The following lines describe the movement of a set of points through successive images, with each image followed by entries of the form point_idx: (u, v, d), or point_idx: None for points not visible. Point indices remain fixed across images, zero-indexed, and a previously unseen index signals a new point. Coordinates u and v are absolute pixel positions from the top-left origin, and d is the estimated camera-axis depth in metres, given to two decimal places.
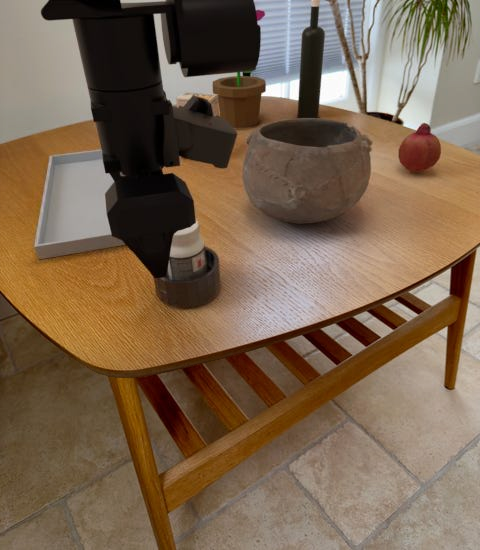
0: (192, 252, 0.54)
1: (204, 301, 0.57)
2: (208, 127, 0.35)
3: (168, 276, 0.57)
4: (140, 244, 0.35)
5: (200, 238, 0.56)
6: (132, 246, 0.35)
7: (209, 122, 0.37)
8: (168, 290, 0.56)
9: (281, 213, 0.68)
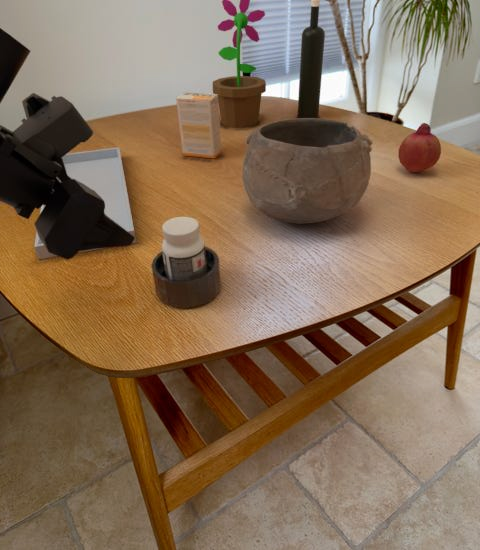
0: (192, 252, 0.54)
1: (204, 301, 0.57)
2: (49, 123, 0.38)
3: (168, 276, 0.57)
4: (94, 240, 0.42)
5: (200, 238, 0.56)
6: (90, 246, 0.42)
7: (48, 115, 0.40)
8: (168, 290, 0.56)
9: (281, 213, 0.68)
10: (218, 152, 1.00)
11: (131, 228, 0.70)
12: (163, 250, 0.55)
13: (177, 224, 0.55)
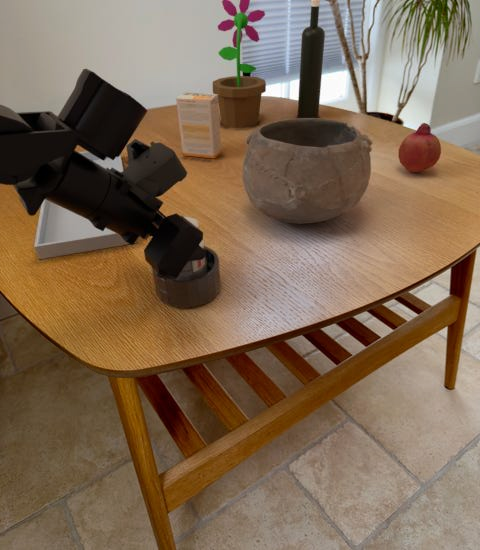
0: None
1: (204, 301, 0.57)
2: (156, 168, 0.46)
3: None
4: None
5: None
6: None
7: (153, 160, 0.48)
8: (168, 290, 0.56)
9: (281, 213, 0.68)
10: (218, 152, 1.00)
11: None
12: None
13: None
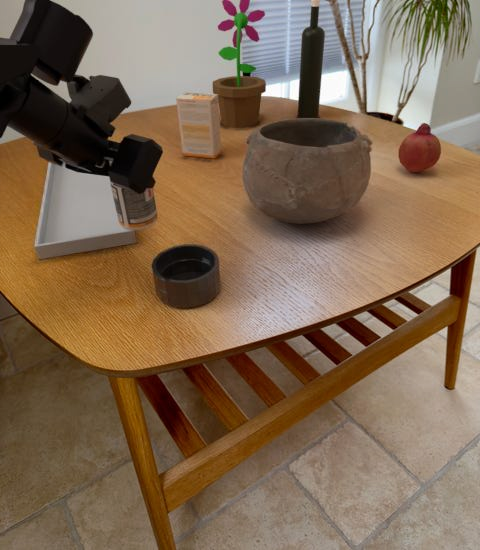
0: None
1: (204, 301, 0.57)
2: (106, 93, 0.50)
3: (121, 211, 0.60)
4: None
5: None
6: None
7: (99, 88, 0.51)
8: (168, 290, 0.56)
9: (281, 213, 0.68)
10: (218, 152, 1.00)
11: None
12: None
13: None
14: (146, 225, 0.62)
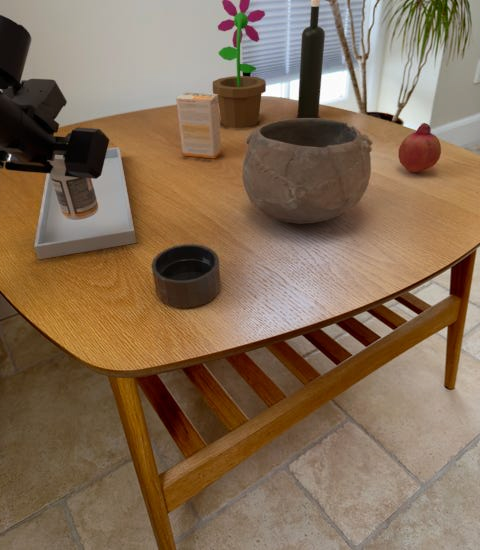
0: None
1: (204, 301, 0.57)
2: (47, 93, 0.56)
3: (66, 202, 0.66)
4: None
5: None
6: None
7: (37, 90, 0.56)
8: (168, 290, 0.56)
9: (281, 213, 0.68)
10: (218, 152, 1.00)
11: (131, 228, 0.70)
12: (57, 178, 0.64)
13: None
14: (91, 212, 0.68)
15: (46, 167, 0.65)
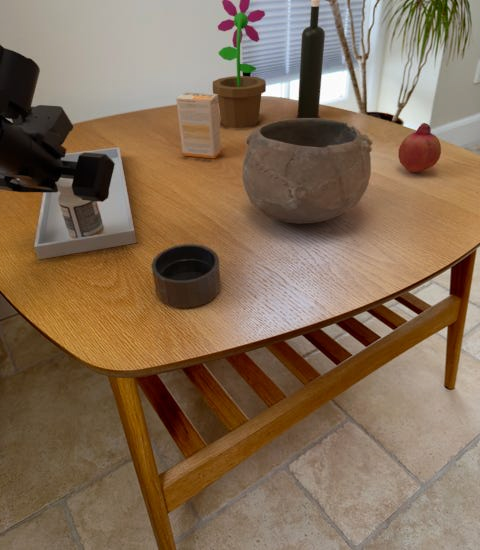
0: None
1: (204, 301, 0.57)
2: (55, 120, 0.58)
3: (74, 227, 0.68)
4: None
5: None
6: None
7: (45, 117, 0.58)
8: (168, 290, 0.56)
9: (281, 213, 0.68)
10: (218, 152, 1.00)
11: (131, 228, 0.70)
12: (65, 204, 0.66)
13: (69, 180, 0.66)
14: None
15: None
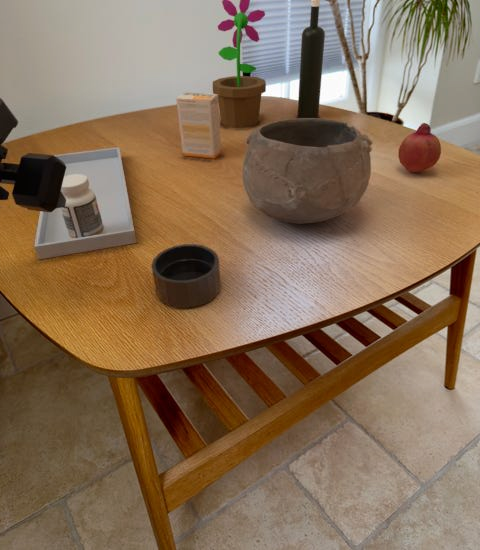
0: (91, 198, 0.67)
1: (204, 301, 0.57)
2: None
3: (74, 227, 0.68)
4: None
5: (89, 188, 0.69)
6: None
7: None
8: (168, 290, 0.56)
9: (281, 213, 0.68)
10: (218, 152, 1.00)
11: (131, 228, 0.70)
12: (65, 204, 0.66)
13: (69, 180, 0.66)
14: None
15: None
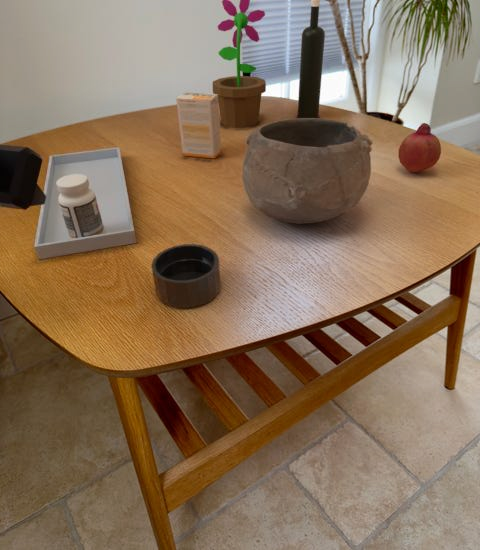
0: (91, 198, 0.67)
1: (204, 301, 0.57)
2: None
3: (74, 227, 0.68)
4: None
5: (89, 188, 0.69)
6: None
7: None
8: (168, 290, 0.56)
9: (281, 213, 0.68)
10: (218, 152, 1.00)
11: (131, 228, 0.70)
12: (65, 204, 0.66)
13: (69, 180, 0.66)
14: None
15: None
